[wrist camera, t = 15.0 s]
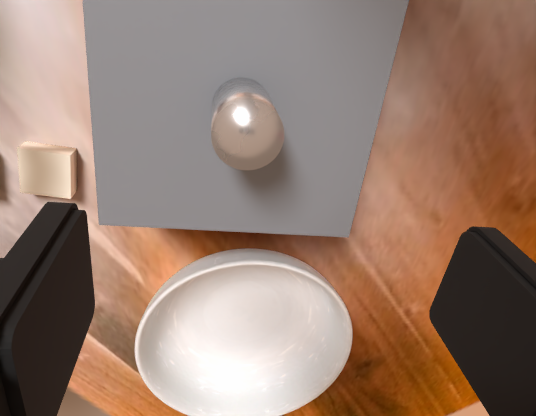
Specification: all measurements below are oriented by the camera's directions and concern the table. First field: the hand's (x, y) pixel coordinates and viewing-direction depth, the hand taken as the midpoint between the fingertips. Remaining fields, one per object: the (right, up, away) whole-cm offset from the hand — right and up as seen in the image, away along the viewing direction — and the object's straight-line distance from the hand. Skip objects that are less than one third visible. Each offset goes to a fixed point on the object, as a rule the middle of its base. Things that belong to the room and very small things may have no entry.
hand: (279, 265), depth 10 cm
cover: (-3, +12, +23) cm, 26 cm away
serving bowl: (-3, -9, +35) cm, 36 cm away
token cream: (-19, +5, +25) cm, 32 cm away
